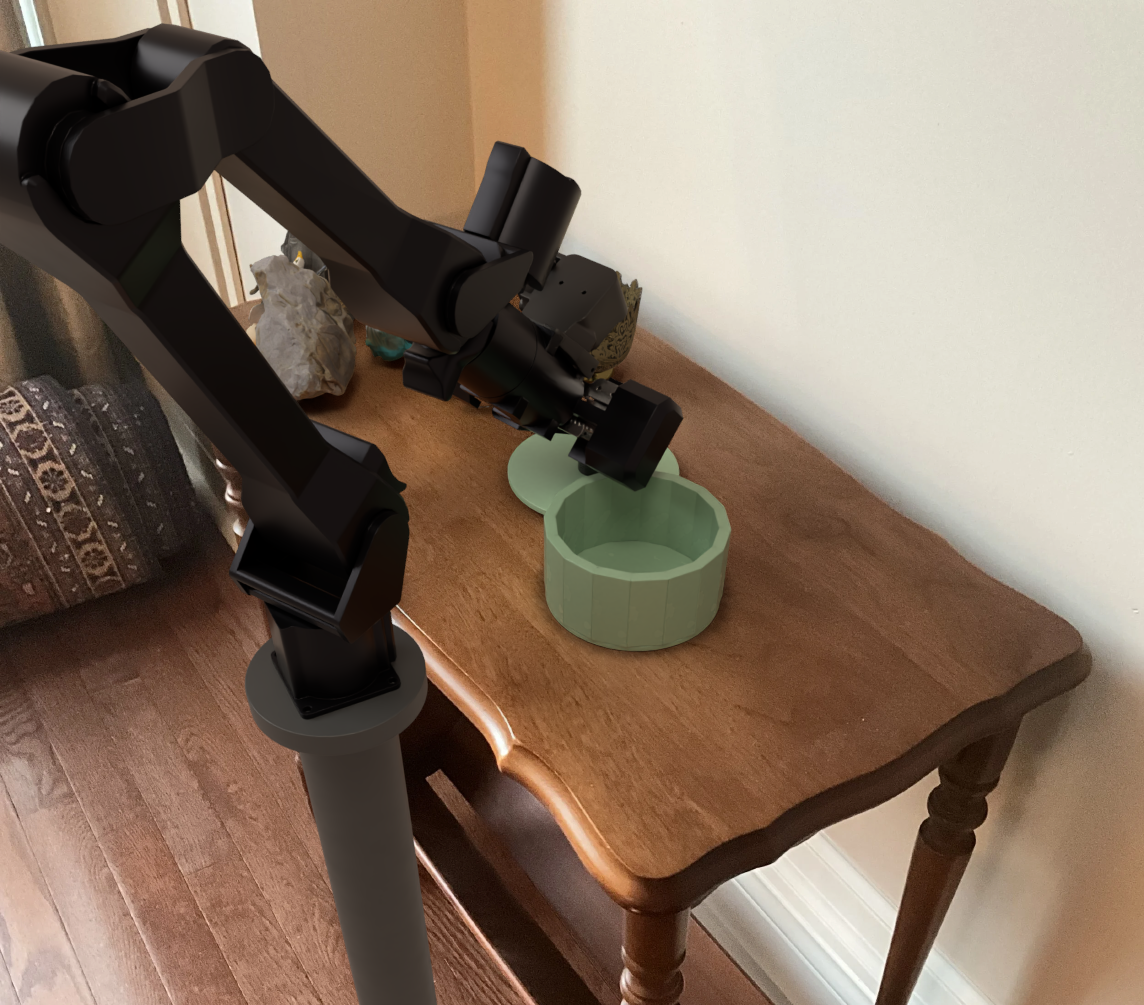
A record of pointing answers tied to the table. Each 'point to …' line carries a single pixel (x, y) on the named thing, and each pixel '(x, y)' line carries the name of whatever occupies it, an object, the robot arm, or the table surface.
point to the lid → (554, 469)
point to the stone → (303, 329)
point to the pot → (635, 561)
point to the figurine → (386, 344)
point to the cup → (618, 335)
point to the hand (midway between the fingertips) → (606, 437)
